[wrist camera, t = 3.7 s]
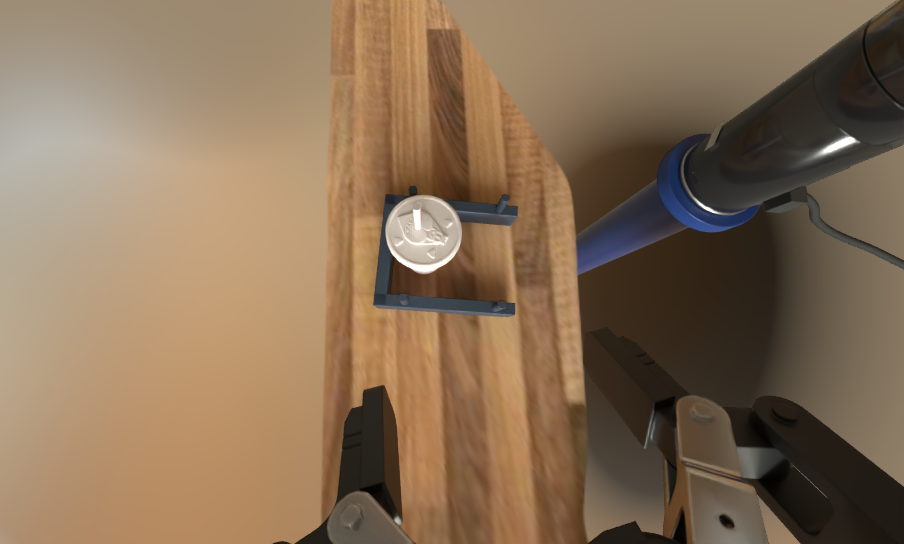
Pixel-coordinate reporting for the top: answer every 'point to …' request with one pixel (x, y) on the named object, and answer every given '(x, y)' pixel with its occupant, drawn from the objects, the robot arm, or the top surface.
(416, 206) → the smoothie
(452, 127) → the top surface
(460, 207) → the rack
